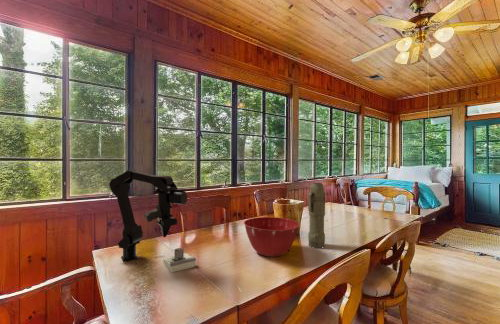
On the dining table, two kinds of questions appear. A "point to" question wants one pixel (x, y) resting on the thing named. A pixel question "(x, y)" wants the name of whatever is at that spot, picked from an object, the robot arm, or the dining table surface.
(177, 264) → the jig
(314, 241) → the thermos
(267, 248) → the mixing bowl
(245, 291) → the dining table surface
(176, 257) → the metal cylinder rod
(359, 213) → the dining table surface
